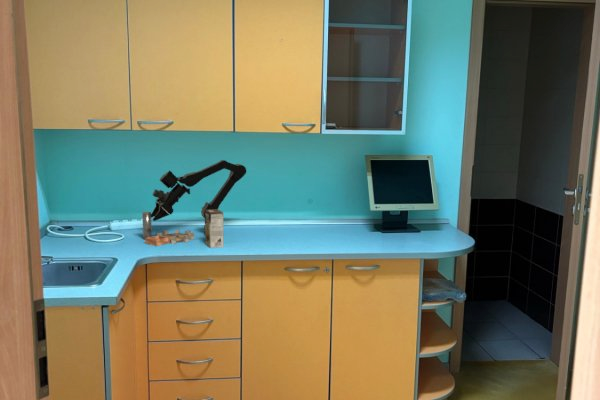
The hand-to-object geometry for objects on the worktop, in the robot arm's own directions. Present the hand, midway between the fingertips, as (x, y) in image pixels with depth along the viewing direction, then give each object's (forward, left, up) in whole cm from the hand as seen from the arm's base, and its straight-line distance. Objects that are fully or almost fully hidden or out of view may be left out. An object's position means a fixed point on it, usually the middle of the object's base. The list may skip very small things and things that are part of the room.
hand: (152, 218), depth 279 cm
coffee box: (-33, +7, -10) cm, 35 cm away
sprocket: (-10, +2, -10) cm, 14 cm away
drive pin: (+2, +1, -10) cm, 10 cm away
